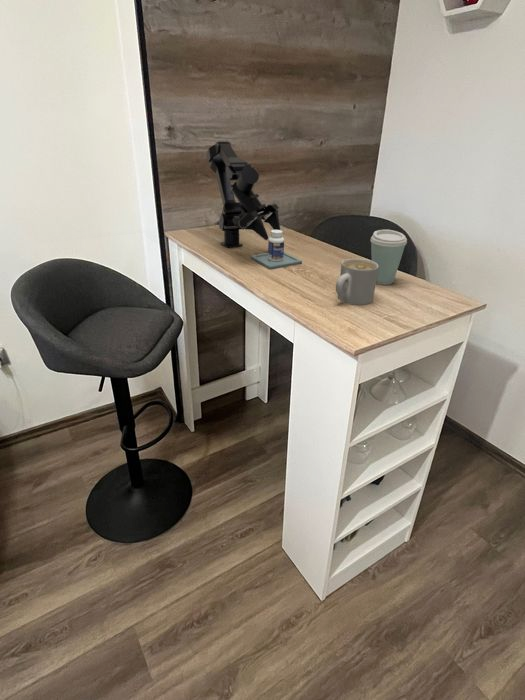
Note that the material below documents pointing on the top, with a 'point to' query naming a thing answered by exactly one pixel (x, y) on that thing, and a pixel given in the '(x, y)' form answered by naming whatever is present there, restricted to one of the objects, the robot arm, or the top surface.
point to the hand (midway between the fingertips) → (273, 236)
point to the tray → (269, 264)
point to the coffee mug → (357, 281)
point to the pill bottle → (276, 246)
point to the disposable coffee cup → (387, 253)
